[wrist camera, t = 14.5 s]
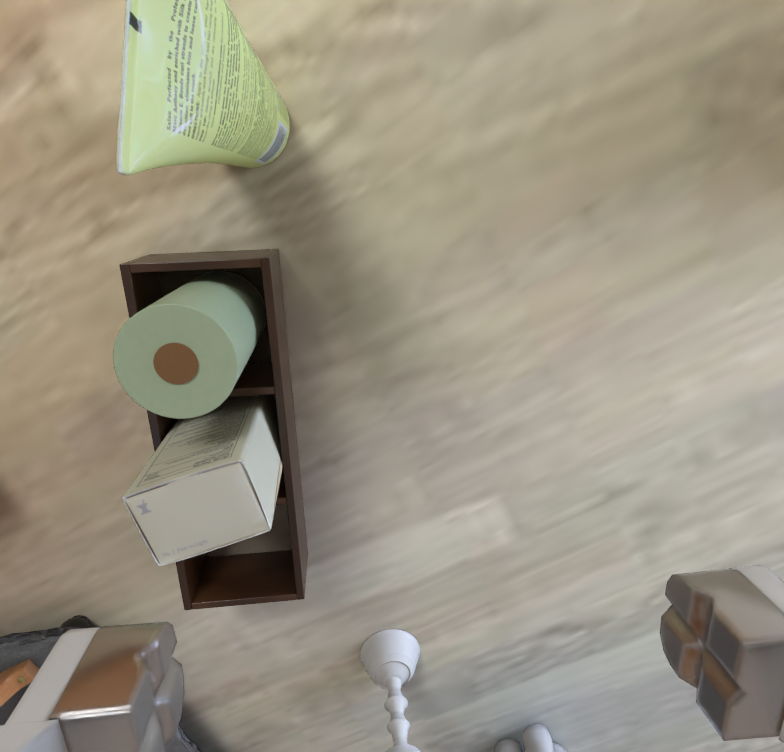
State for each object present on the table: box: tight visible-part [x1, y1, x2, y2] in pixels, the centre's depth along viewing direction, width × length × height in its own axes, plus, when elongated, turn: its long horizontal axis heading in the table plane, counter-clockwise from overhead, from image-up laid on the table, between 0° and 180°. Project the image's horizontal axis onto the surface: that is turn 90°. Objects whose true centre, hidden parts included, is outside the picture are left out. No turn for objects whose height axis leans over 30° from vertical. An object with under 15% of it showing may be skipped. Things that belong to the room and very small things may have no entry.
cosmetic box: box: [122, 394, 283, 566], centre depth 33 cm, size 6×4×12 cm
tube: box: [117, 0, 290, 175], centre depth 23 cm, size 6×5×20 cm
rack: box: [120, 249, 308, 610], centre depth 36 cm, size 8×23×5 cm, turn 2°
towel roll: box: [113, 271, 266, 419], centre depth 31 cm, size 6×6×11 cm
